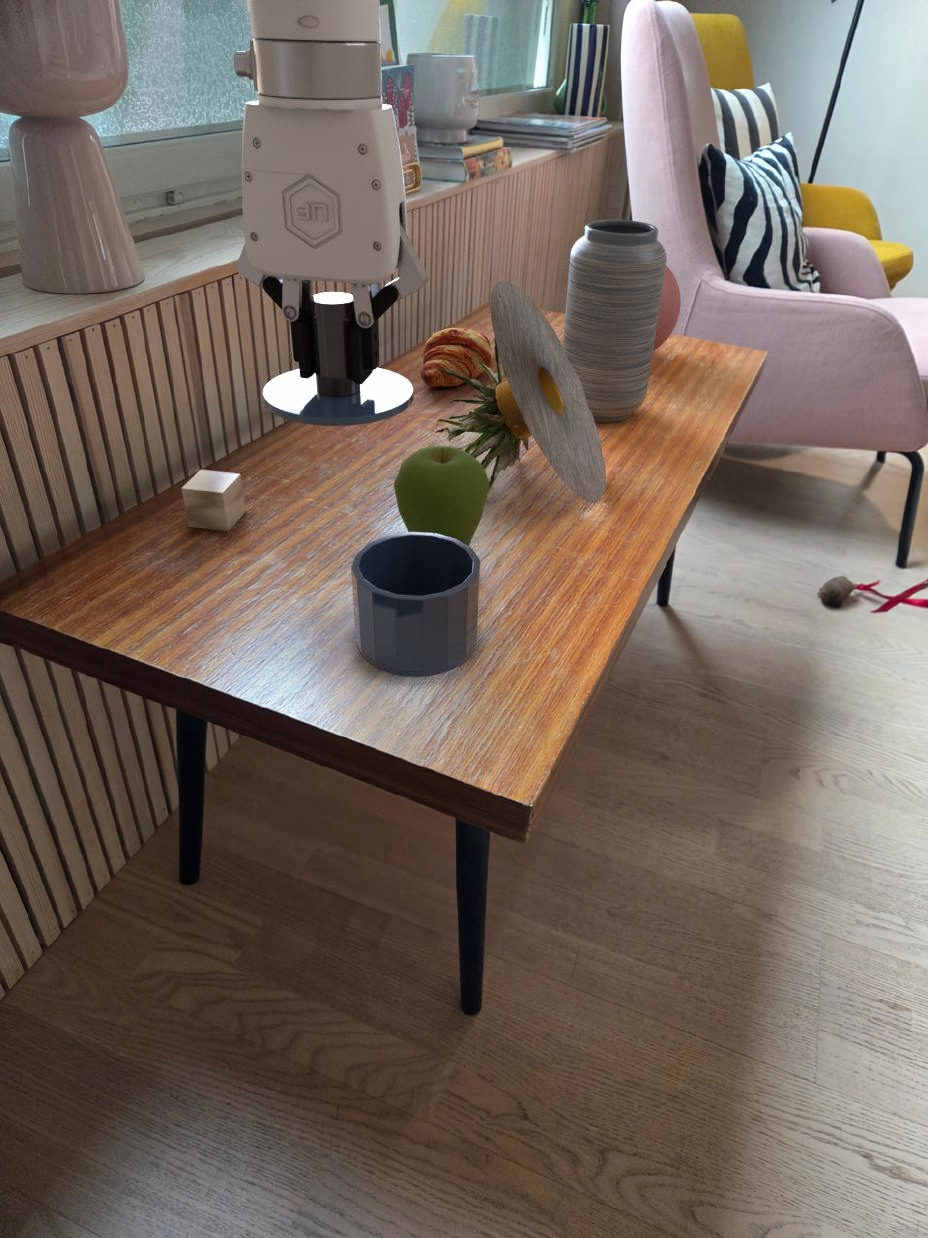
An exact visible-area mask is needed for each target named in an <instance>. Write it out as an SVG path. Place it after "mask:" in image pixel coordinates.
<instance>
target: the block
mask: <svg viewBox="0 0 928 1238" xmlns="http://www.w3.org/2000/svg"><path fill="white" fill-rule="evenodd" d="M180 489H181V494H182V500H183V503H184V504H183V505H184V509H185V517H186V521H187V525H188V527H189V528H195V529H203V530H204V529H205V530H213V531H219V532H220V531H221V532H229V533H230V531H231V530H232V528H233V527H234V526H235V525H236V524H237V523H238V521H239V520H240V519H241V518H242V517H243V516H244V514H246V505H245V496H244V490H243V489H244V488H243V483H242V475H241V473H237V472H236V473H235V472H227V471H217V470H209V469H199V470H198V472H196V473H195V474H194V475H193V476H192V477H191V478H190V479H189V480H188V481H187V482H186V483H184V485H183V486H182V487H181V488H180Z"/></svg>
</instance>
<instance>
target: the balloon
mask: <svg viewBox="0 0 928 1238" xmlns="http://www.w3.org/2000/svg"><path fill="white" fill-rule="evenodd" d="M680 291H681V290H680V287H679V284H678V281H677V278H676V277H675V274H674V273H673V272H672V270H671V269H670V267H669V266H668V265H667V264H666V268H665V275H664V281H663V288H662V295H661V301H660V308H659V315H658V321H657V328H656V335H655V341H654V348H653V352H654V351H656V350H657V349H659V348H660V347H661V346H662V345H663V344H664V343H665V342H666V341H667V340H668V339H669V338H670V336H671V334H672V333H673V331H674V330H675V327H676V325H677V323H678V320H679V316H680V313H681V302H682V301H681V292H680Z"/></svg>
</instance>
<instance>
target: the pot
mask: <svg viewBox="0 0 928 1238" xmlns="http://www.w3.org/2000/svg"><path fill="white" fill-rule="evenodd" d="M350 570H351V587H352V603H353V617H354V632H355V639H356V644H357V648H358V651H359V653H360V654H361V655H362V657H363V658H364V659H365V660H366V661H367V662H368V663H369V664H371V665H372V666H374V667H376V668H378V669H379V670H381V671H384V672H387V673H389V674H393V675H398V676H405V677H428V676H434V675H440V674H443V673H446V672H448V671H451V670H453V669H456V668H457V667H459V666H461V665H463V663H465V662H466V661H468V660H469V659H470V657H471V656H472V655H473V653H474V651H475V649H476V648H477V644H478V632H479V610H480V609H479V608H480V585H481V583H480V580H481V560H480V558H479V556H478V555H477V553H476V552H475V550H474V549H473V548H472V547H471V546H470V545H469V546H467V545H466V544H464V543H462V542H461V541H459V540H457V539H455V538H452V537H448V536H444V535H440V534H437V533H424V532H408V531H406V532H401V533H400V532H399V533H394V534H388V535H385V536H383V537H380V538H377V539H375V540H372V541H370V542H368V543H367V544H366V545H364V546H363V547H362V548H361V549H360V550H358V551H357V552H356V553H355V555H354V558H353V561H352V564H351V567H350Z"/></svg>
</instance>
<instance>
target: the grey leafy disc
mask: <svg viewBox="0 0 928 1238" xmlns="http://www.w3.org/2000/svg"><path fill="white" fill-rule="evenodd" d="M491 290H492V291H491V294H490V305H489V306H490V307H489V310H490V317H491V325H492V331H493V336H494V338H493V341H494V358H495V364H496V365H495V366H496V372H495V371H494V370H493V369H491V367H490V368H489V367H487V366H486V365H484V364H483V363H482V362H481V361H479V360H478V359H477V358H476V357H473V358H474V359H475V360H476V361H477V363H478V364H480V367H482V368H484V369H485V370H486V371H485V372H486V373H487V374H488V377H489V378H490V380H491V381H492V383H493V384H494V385H495V386H493V385H492V384H491V383H489V384H488V385H485V384H484V383H483V382H481V381H480V380H477V379H469V378H468V377H465V376H463V375H460V374H458V373H456V372H453V371H451V370H447V369H441V368H440V370H441V371H442V372H445V373H446V374H448V375H452V376H455V377H457V378H459V379H460V380H462V381H464V382H465V384H467V385H468V386H471V387H472V388H474V389H475V390H476V391H478V392H480V394H481V395H480V394H473V395H472V396H473V397H476V398H478V399H470V398H469V399H467V398H453V399H451V400H449V403H454V402H457V403H459V402H461V403H465V404H475V405H480V406H477V407H475V408H473V411H470V410H469V411H468V413H467V414H461V415H453V413H450V415H449V417H448V419H447V418H445V419H444V418H441V417H440V418H439V419H438V420H436V423H435V425H437V426H438V425H439V423H440V422H443V423H447V424H448V425H453V426H455V427H445V428H441V429H437V430H436V431H435V434H439V433H440V434H441V433H444V432H446V433H447V437H446V439H447V441H448V442H451V441H452V440H453V439H454V438H457V437H459V436H461V435H463V434H464V433H466V432H467V433H475V434H476V433H477V434H480V435H479V436H478V438H476V439H475V440H474V441H472V442H470V443H468V444H466V445H464V446H462V447H458V448H459V449H462V450H464V451H465V452H467V453H468V454H470V455H471V456H472V457H474V458H475V459H476V460H477V458H478V457H480V456H481V455H483V454H484V453H485V452H487V453H486V455H485V456H484V458H483V459H482V460H481V462H480V463H481V464H482V466H483V467H484V468H485V470H486V469H487V468H488V467H489V466H490V464H491V463H492V461H493V460H494V459H495V464H494V466H493V469H492V473H491V476H490V480H489V483H490V486H489V490H488V494H487V495H489V494H490V493H491V492H492V491H493V490H494V483H495V481H496V480H497V478H498V476H499V474H500V473H501V471H504V472H505V471H506V470H507V468H509V467H513V466H514V465H515V464H516V462H517V461H519V462H520V461H521V458H520V456H521V455H520V453H521V452H520V451H521V443H522V444H523V446H524V448H525V450H526V451H529V439H530V438H531V437H532V439H533V441H534V442H535V443H536V444H537V446H538V448H539V449H540V451H541V452H542V453H543V455H544V457H545V458H546V460H547V461H548V463H549V464H550V465H551V467H552V469H553V470H554V472H555V473H557V476H559V478H560V479H561V481H563V482H564V484H565V485H566V486H567V487H568V488H569V489H570V491H572V492H574V493H575V494H576V495H577V496H579V497H580V498H581V499H583V500H585V501H587V502H589V503H597V502H599V501H600V500H601V499H602V497H603V496H604V493H605V489H606V484H607V483H606V482H607V471H606V464H605V459H604V454H603V450H602V444H601V438H600V434H599V431H598V428H597V424H596V422H595V421H594V418H593V415H592V413H591V411H590V409H589V407H588V405H587V402H586V398H585V395H584V390H583V387H582V385H581V382H580V380H579V378H578V376H577V374H576V372H575V370H574V369H573V367H572V365H571V364H570V362H569V360H568V358H567V356H566V353H565V351H564V349H563V347H562V345H563V344H562V342H561V341H560V339H559V337H558V335H557V334H556V331H555V330H554V328H553V326H552V325H551V323H550V322H549V320H548V318H547V317H546V316H545V314H544V313H543V312H542V311H541V309H540V308H539V306H537V304H535V302H534V301H533V300H532V298H530V297H529V295H527V294H526V293H525V292H524V291H523V290H522V289H521V288H520V287H518V286H517V285H515V284H513V283H512V282H510V281H507V280H499V281H498V282H496V283H495V284H494V285H493V287H492V289H491ZM457 419H458V421H455V420H457Z"/></svg>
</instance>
